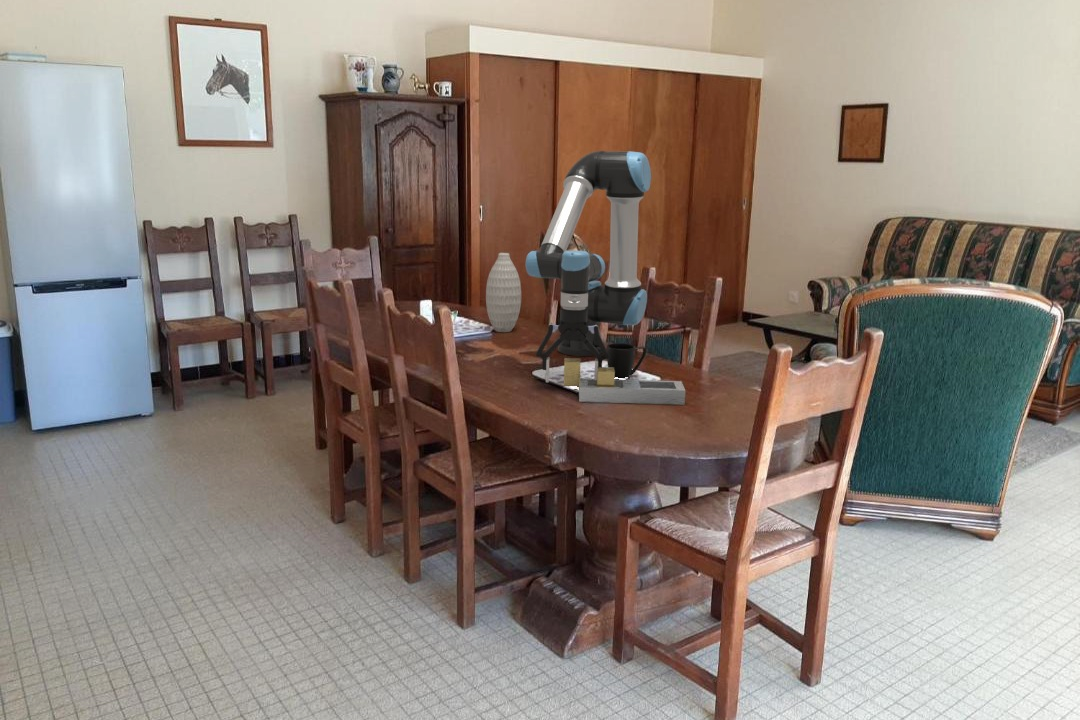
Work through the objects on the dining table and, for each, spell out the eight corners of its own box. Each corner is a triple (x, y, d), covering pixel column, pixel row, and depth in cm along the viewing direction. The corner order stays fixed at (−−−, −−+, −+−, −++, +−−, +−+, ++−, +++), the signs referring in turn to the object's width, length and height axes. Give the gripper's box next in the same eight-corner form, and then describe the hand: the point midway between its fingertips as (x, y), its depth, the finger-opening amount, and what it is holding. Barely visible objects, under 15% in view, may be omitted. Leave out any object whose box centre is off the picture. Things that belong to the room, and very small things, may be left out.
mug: (650, 379, 252) (651, 348, 249) (611, 381, 248) (612, 350, 246) (639, 372, 259) (640, 341, 257) (601, 374, 256) (603, 343, 254)
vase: (506, 325, 322) (507, 250, 315) (527, 331, 312) (529, 254, 306) (478, 329, 314) (479, 252, 307) (499, 335, 305) (500, 256, 298)
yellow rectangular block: (563, 385, 244) (564, 358, 242) (579, 385, 244) (580, 358, 242) (563, 389, 240) (564, 362, 238) (579, 390, 240) (580, 362, 238)
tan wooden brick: (596, 395, 235) (597, 367, 233) (612, 395, 235) (613, 367, 233) (596, 400, 231) (597, 371, 229) (613, 400, 231) (614, 371, 229)
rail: (578, 392, 237) (579, 378, 236) (680, 395, 236) (681, 381, 236) (579, 401, 229) (579, 387, 228) (684, 404, 228) (685, 390, 227)
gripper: (528, 308, 233) (526, 384, 238) (620, 311, 232) (616, 386, 237) (529, 303, 240) (527, 377, 245) (618, 306, 239) (615, 379, 244)
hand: (571, 382), depth 241 cm, fingers open, 13 cm apart
